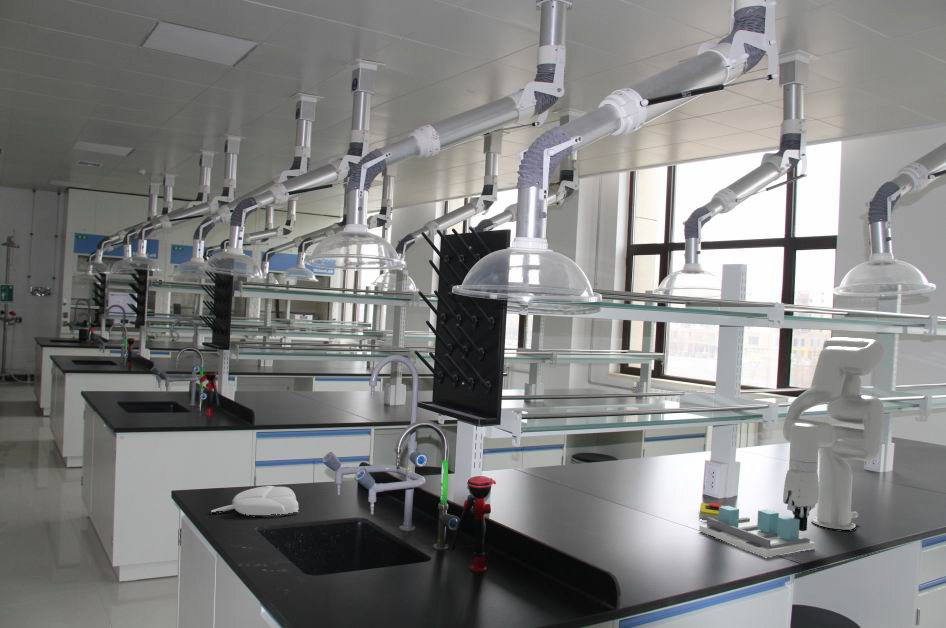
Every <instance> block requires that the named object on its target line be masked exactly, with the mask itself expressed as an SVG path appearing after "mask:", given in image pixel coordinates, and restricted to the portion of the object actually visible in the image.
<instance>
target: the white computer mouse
mask: <svg viewBox="0 0 946 628" xmlns="http://www.w3.org/2000/svg"><path fill="white" fill-rule="evenodd" d="M231 502H232V503H231V504H230V505H225V506H222V507H218V508H215V509H212V510H210V511H211V512H216V511H223V512H226V511H230V510H235V511H236V512H238V513H239V514H242V515H245V514H246V516H249V515H271V514H276V515H277V514H280V515H281V514H288V513H293V512H298V513H299V511H298V510H299V502H298V501H297V497H296V493H295V492H294V490H292V489H291V488H290V487H287V486H273V485H266V486H258V487H253V488H250V489H245V490H243V491H241V492H239V493H237V494H236V495H234V497H233V499H232V501H231ZM211 512H210V513H211Z"/></svg>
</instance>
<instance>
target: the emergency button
mask: <svg viewBox="0 0 946 628" xmlns="http://www.w3.org/2000/svg"><path fill="white" fill-rule="evenodd" d="M722 506H723V505H722V504H720V503H715V502H711V503H710V502H709V503H705V502H701V503H700V507H699V508H700V509H699V518H700V519H702V520H707V518H712V519H715V520H718V516H719V507H722Z"/></svg>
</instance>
